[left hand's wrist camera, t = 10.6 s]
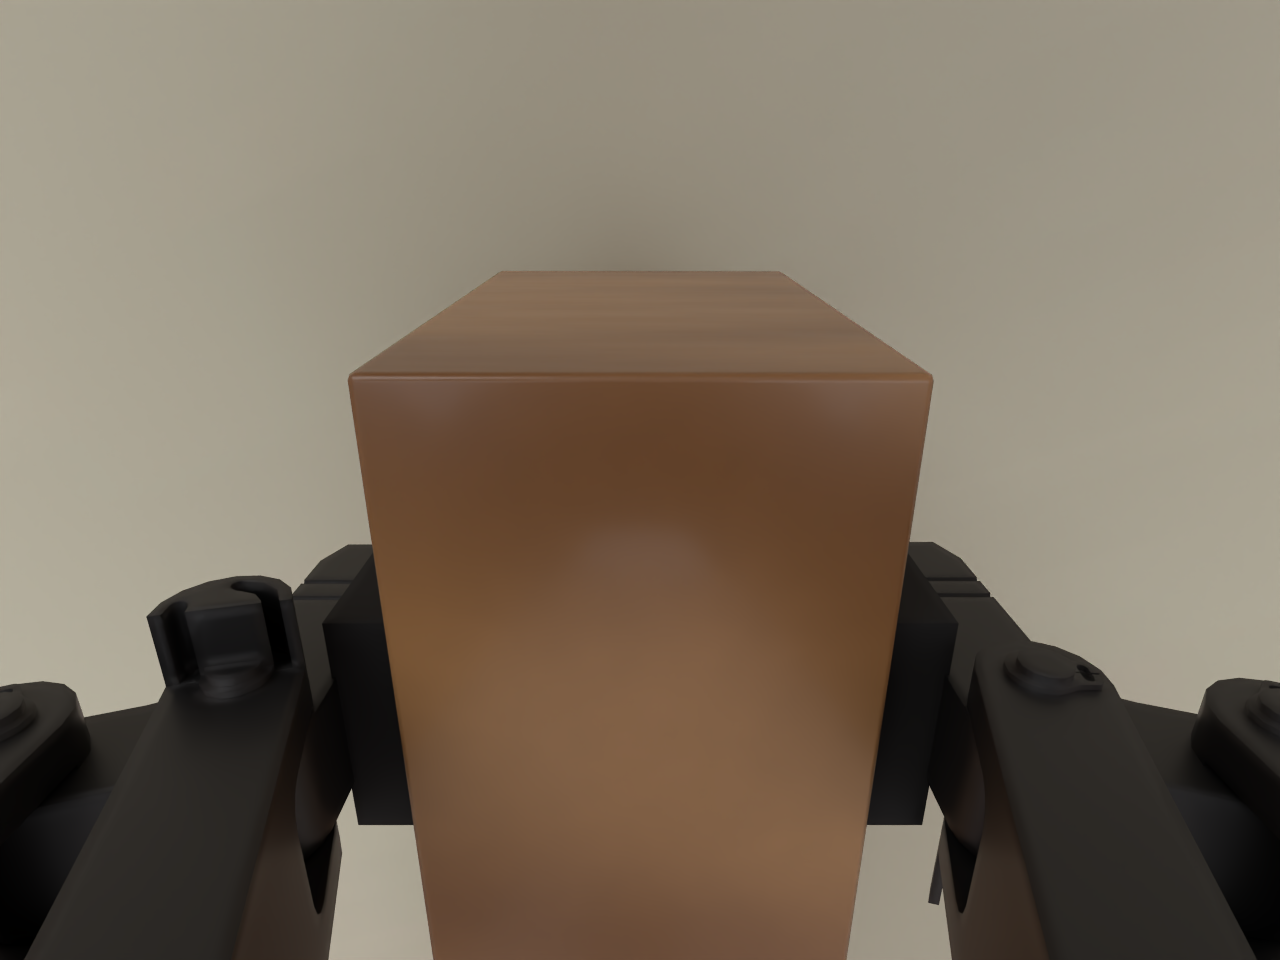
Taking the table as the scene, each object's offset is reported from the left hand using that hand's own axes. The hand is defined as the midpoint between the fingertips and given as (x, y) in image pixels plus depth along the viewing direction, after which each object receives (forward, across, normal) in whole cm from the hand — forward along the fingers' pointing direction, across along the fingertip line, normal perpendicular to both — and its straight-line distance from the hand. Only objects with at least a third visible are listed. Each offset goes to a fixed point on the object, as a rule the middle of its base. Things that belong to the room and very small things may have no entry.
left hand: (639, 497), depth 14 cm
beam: (+1, 0, -28) cm, 28 cm away
